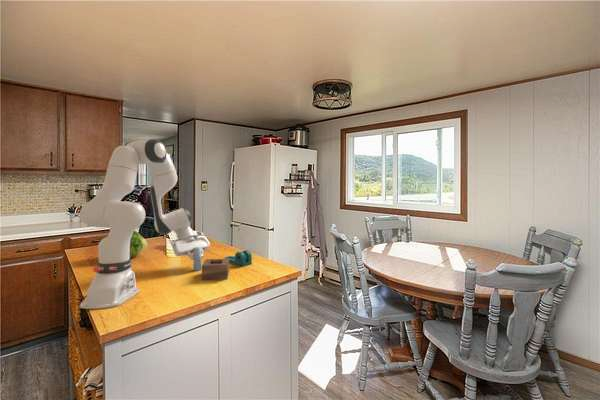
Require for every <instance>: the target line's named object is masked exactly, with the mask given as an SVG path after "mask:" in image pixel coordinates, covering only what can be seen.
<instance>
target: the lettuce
mask: <svg viewBox="0 0 600 400" xmlns="http://www.w3.org/2000/svg"><path fill="white" fill-rule="evenodd" d="M106 237H108V235H107V236H106ZM147 247H148V241H147V240H146V239H145V238H144V237H143V236H142V235H141V234H140V233H139V232H137V231H136V230H135V231H134V232H133V234H132V236H131V240H130V259H131V258H135V257H136V256H138V255H139V254H140V253H141V252H143V251H144V250H145V249H146V248H147Z"/></svg>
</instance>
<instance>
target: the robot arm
mask: <svg viewBox="0 0 600 400" xmlns="http://www.w3.org/2000/svg"><path fill="white" fill-rule="evenodd" d="M139 165H148V166H149V167H150V168H149V169H150V172H151V175H152V178H153V183H152V186H150V188H149V189H150V190H149V193H150V194H149V195H150V200H151V207H152V212H153V221H154V222H153V223H154V224H153V225H154V229H155V231H156V232H157V233H158V234H161V235H164V236H165V235H168V234H170V233H171V232H174V233H175V235H176V238H177V239H173V240H171V242H170V246H171V247H172V249H173V252H174V255H175V256H176V257H181V256H184V255H186V256H187V257H188V258H189V259H190V260H191V261H193V260H195V256H193V248H194V247H201V259H202V258H204V257H205V254H204V251H208V250H209V248H210V247H211V243H210V242H209V240H208V239H207V237H206V236H204V235H205V234H204V233H203V232H202V231H197V230H194V229H192V228H191V225H192V222H193V217H192V215H191V212H190V211H189V210H188V209H186V208H184V207H182V208H179V209H175V210H173V211H171V212H167V213H165V214H163V210H162V209H163V208H162V198H163V196H165V195H166V194H167V193H168V192H170V190H172V189H174V187H175V186H176V184H177V182H178V180H179V179H178V173H177V171H176V167H175V165H174V162H173V160H172V159H171V156H170V155H169V154H168V152H167V148H166V146H165V144H164V143H163V142H162V141H161V140H159V139H154V138H153V139H143V140H141V139H139V140H134V141H130V142H126V143H125V144H123V145H119V146H117V147H115V149H114V150H113V152H112V154H111V157H110V159H109V162H108V166H107V169H106V174H105V176H104V180H103V184H102V186H101V188H100V189H99V191H97V193H96V195H95V196H94V197H93V198H92V199H90V201H88V202H86V203H84V205H82V206H81V208H80V209H79V210H80V211H79V217H80V220H81V222H82V223H83V224H84V225H87V226H90V227H95V228H109V232H108V234H107V236H108V237H107V236H106V237H103V238H102V239H101V240H100V241H99V243H98V247H97V248H98V250H97V251H98V253H97V254H98V261H97V264H96V266H94V267H93V269H92V270H93V272H94V273H95V272H96V273H95V275H94V278H93V279H92V281H91V282H90V283H89V286H88V288H87V293H86V297H85V298H84V299H83V300H82V301H81V302H80V304H79V308H81V309H86V310H88V309H89V310H92V309H94V310H95V309H107V308H114V307H118V306H120V305H122V304H124V303H125V302H126V301H128V300H129V299H131V298H132V297H134V296H135V295H137V294H138V293H140V292H141V291H140V290H141V289H140V288H137V284H136V283H137V282H136V274H135V272H134V271H133V270H132V268H131V267H132V259H131V258H130V240H131V236H132V234H133V232H134V231H136V230H137V228H139V227H140V226H141V225H142V224H143V223H144V222H145V219H146V210H145V207H143V205H142V204H140V203H136V202H132V201H122V200H123V198H124V197H126V196H127V195H129V194H130V193H132V192H133V191H134V189H135V186H136V185H135V184H136V180H137V175H138V169H139Z"/></svg>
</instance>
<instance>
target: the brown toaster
mask: <svg viewBox="0 0 600 400" xmlns="http://www.w3.org/2000/svg"><path fill="white" fill-rule="evenodd" d="M229 273H230V263H229V259H225V258H205V260H204V262H203V263H202V264H201V280H202V281H210V280H211V281H215V280H228V278H229Z"/></svg>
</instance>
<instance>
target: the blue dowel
mask: <svg viewBox="0 0 600 400" xmlns="http://www.w3.org/2000/svg"><path fill="white" fill-rule="evenodd" d="M192 255H193V256H195V260H192V262H193V272H200V271H202V258H201V247H194V248H193V253H192Z"/></svg>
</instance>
